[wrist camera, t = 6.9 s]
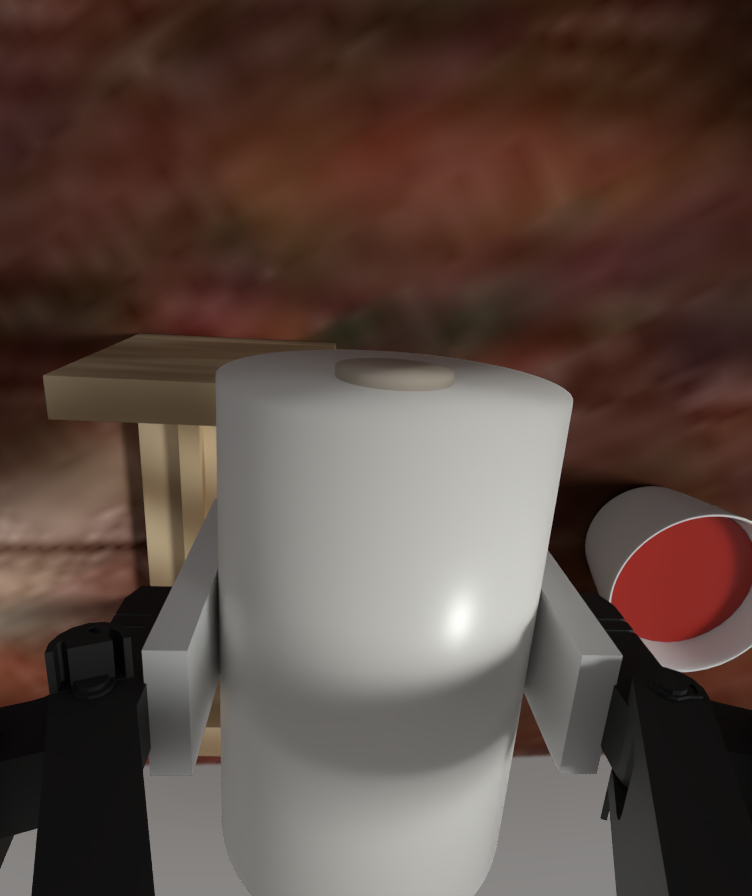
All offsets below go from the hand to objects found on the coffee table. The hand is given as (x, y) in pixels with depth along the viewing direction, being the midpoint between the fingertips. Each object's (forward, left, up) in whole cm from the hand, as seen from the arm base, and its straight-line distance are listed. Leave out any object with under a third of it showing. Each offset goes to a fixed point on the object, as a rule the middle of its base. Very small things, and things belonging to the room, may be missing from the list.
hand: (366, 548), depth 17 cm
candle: (+8, +17, -16) cm, 25 cm away
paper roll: (0, 0, +3) cm, 3 cm away
